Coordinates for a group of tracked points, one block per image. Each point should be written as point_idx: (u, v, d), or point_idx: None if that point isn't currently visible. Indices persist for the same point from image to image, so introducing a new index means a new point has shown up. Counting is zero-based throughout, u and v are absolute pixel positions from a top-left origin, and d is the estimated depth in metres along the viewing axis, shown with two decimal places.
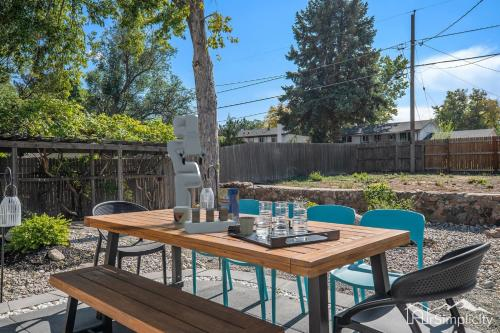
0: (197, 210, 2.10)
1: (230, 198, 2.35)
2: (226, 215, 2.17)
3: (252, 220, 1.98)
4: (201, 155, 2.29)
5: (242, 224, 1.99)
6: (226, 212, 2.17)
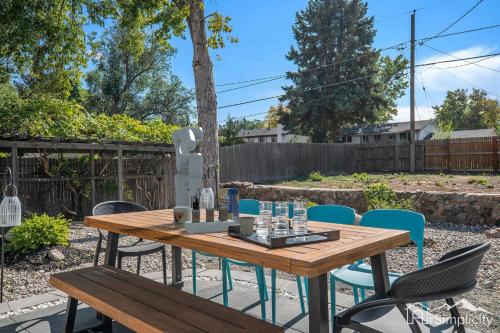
0: (197, 211, 2.10)
1: (230, 198, 2.35)
2: (226, 215, 2.17)
3: (252, 220, 1.98)
4: None
5: (242, 224, 1.99)
6: (226, 212, 2.17)
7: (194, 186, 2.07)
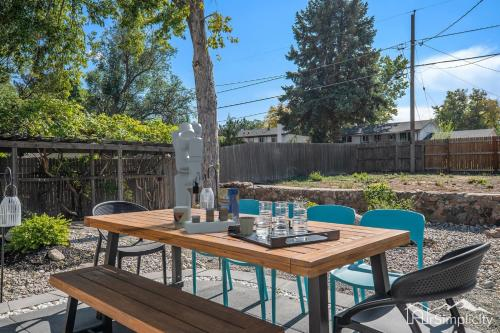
0: (197, 217, 2.10)
1: (230, 198, 2.35)
2: (226, 215, 2.17)
3: (252, 220, 1.98)
4: None
5: (242, 224, 1.99)
6: (226, 212, 2.17)
7: (194, 170, 2.07)
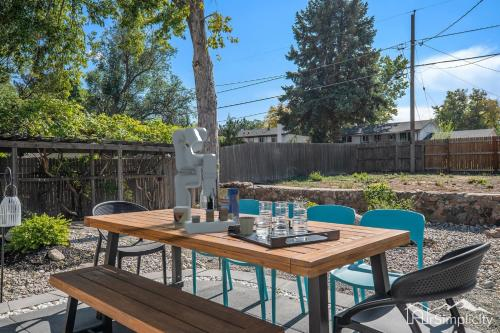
0: (197, 217, 2.10)
1: (230, 198, 2.35)
2: (226, 215, 2.17)
3: (252, 220, 1.99)
4: None
5: (242, 224, 1.99)
6: (226, 212, 2.17)
7: (208, 186, 2.10)
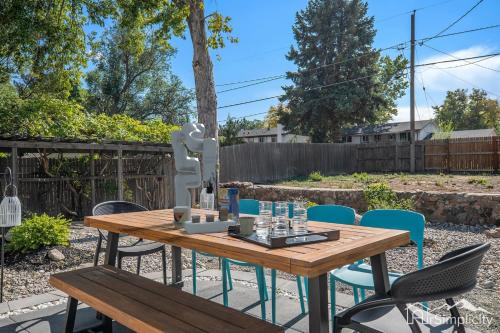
0: (197, 217, 2.10)
1: (230, 198, 2.35)
2: (226, 215, 2.17)
3: (252, 220, 1.98)
4: None
5: (242, 224, 1.99)
6: (226, 212, 2.17)
7: (208, 170, 2.10)
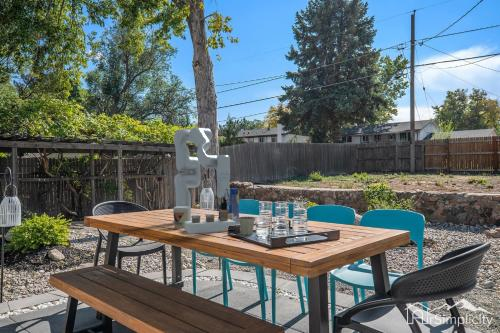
0: (197, 217, 2.10)
1: (230, 198, 2.35)
2: (226, 217, 2.16)
3: (252, 220, 1.98)
4: None
5: (242, 224, 1.99)
6: (226, 214, 2.17)
7: (223, 187, 2.13)
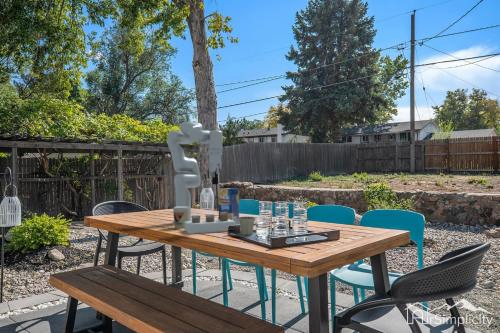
0: (197, 217, 2.10)
1: (230, 198, 2.35)
2: (226, 220, 2.16)
3: (252, 220, 1.98)
4: None
5: (242, 224, 1.99)
6: (226, 217, 2.16)
7: (214, 162, 2.16)
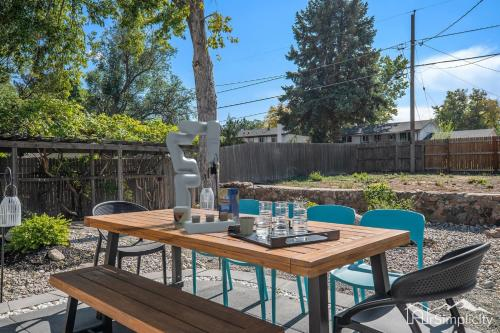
0: (197, 217, 2.10)
1: (230, 198, 2.35)
2: (226, 220, 2.16)
3: (252, 220, 1.98)
4: None
5: (242, 224, 1.99)
6: (226, 217, 2.16)
7: (212, 151, 2.17)
